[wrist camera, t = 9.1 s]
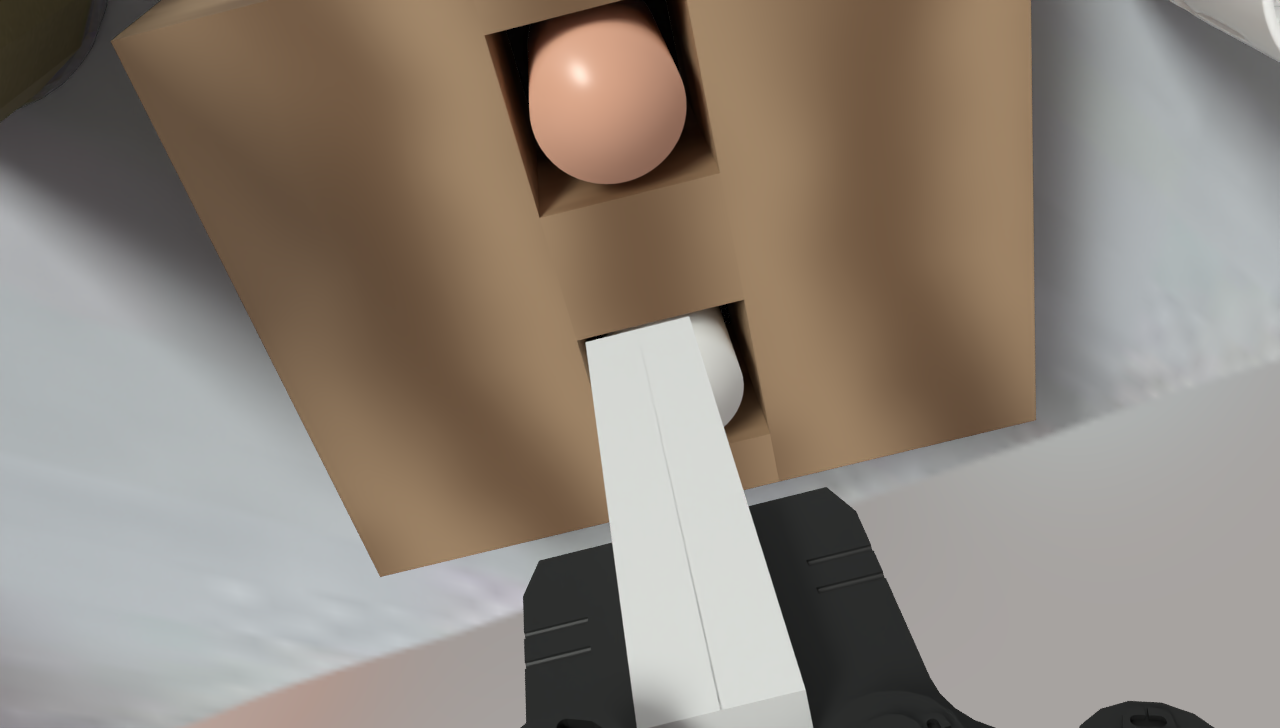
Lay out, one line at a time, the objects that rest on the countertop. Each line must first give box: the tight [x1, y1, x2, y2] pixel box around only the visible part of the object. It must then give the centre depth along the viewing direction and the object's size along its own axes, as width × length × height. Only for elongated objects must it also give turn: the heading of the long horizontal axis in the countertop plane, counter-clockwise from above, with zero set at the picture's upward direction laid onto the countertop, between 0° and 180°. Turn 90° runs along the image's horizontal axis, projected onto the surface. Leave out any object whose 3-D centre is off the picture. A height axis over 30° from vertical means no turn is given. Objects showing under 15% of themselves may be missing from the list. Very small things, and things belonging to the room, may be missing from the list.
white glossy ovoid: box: [603, 306, 744, 427], centre depth 34 cm, size 4×4×6 cm
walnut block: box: [111, 0, 1036, 577], centre depth 32 cm, size 22×18×7 cm
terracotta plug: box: [527, 0, 686, 184], centre depth 29 cm, size 4×4×6 cm
